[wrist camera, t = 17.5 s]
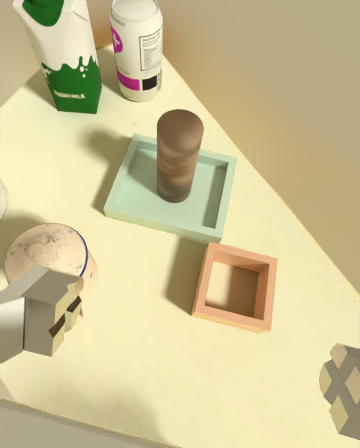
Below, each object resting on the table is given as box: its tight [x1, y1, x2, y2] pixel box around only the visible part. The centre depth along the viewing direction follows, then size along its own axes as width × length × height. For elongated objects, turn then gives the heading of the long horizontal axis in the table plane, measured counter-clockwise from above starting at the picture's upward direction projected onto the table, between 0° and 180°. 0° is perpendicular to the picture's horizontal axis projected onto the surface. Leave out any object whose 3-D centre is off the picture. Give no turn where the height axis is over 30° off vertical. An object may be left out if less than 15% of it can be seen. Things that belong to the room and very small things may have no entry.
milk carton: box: [13, 0, 102, 114], centre depth 45 cm, size 9×9×20 cm
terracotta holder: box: [191, 242, 277, 333], centre depth 39 cm, size 10×10×4 cm
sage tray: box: [103, 133, 237, 244], centre depth 46 cm, size 18×15×3 cm
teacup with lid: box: [4, 223, 98, 324], centre depth 35 cm, size 12×9×12 cm
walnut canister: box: [157, 109, 204, 203], centre depth 40 cm, size 6×6×14 cm
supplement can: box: [110, 0, 163, 102], centre depth 50 cm, size 8×8×15 cm
